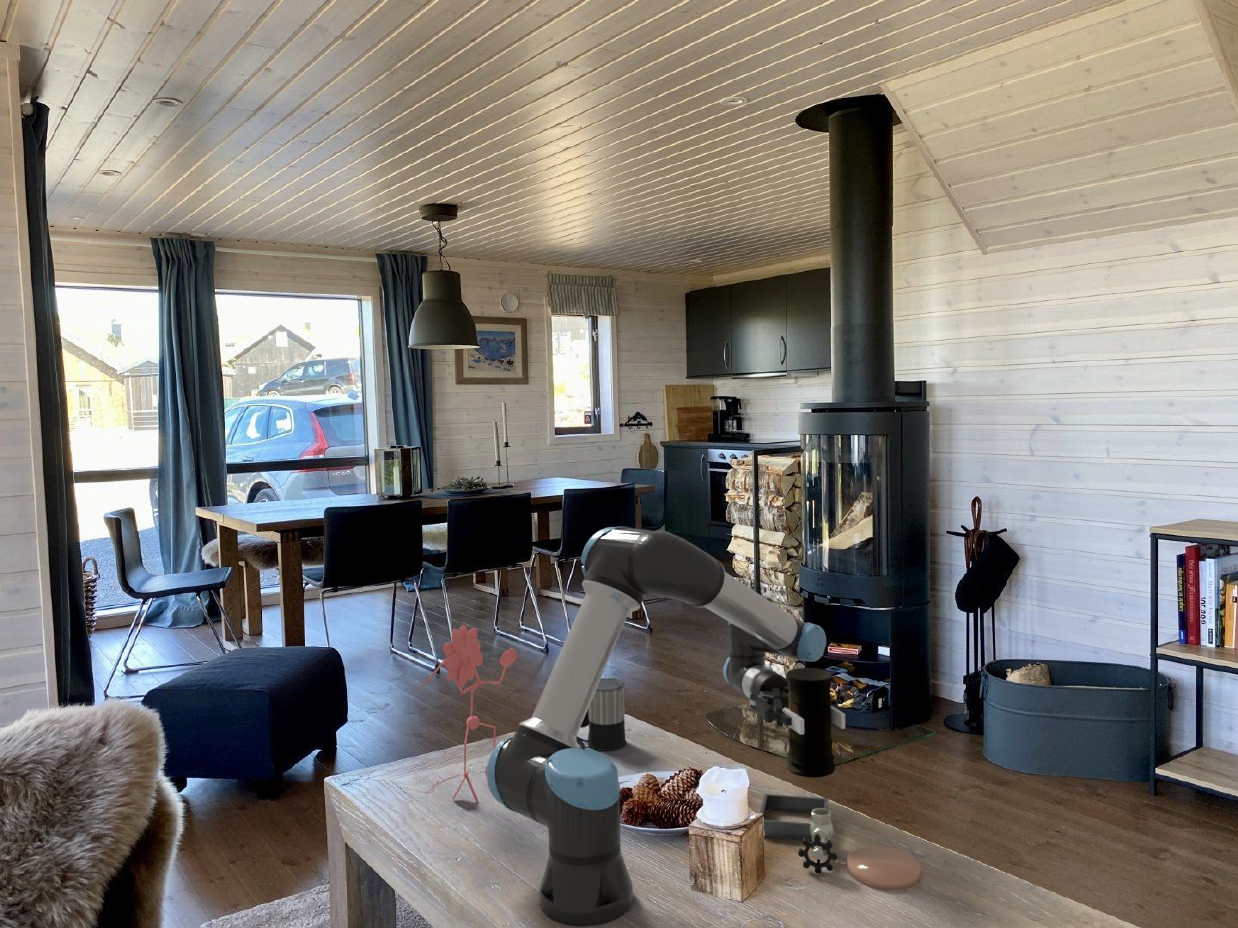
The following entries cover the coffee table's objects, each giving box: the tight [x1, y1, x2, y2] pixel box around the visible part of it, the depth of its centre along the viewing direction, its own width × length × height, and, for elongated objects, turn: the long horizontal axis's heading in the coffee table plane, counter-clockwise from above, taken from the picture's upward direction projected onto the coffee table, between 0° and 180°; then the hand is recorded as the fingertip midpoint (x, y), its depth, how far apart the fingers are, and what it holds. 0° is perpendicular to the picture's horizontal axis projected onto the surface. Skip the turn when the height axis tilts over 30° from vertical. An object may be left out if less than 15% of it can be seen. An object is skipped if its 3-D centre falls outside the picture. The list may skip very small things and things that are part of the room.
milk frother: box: [576, 677, 627, 751], centre depth 221 cm, size 14×16×15 cm
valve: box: [797, 808, 839, 875], centre depth 164 cm, size 7×7×12 cm
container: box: [785, 667, 836, 779], centre depth 174 cm, size 9×9×18 cm
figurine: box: [418, 624, 518, 803], centre depth 199 cm, size 15×26×35 cm, turn 148°
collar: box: [759, 793, 829, 842], centre depth 177 cm, size 12×12×3 cm
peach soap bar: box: [846, 845, 922, 890], centre depth 159 cm, size 12×12×2 cm
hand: (822, 724), depth 169 cm, fingers closed on container, 8 cm apart
